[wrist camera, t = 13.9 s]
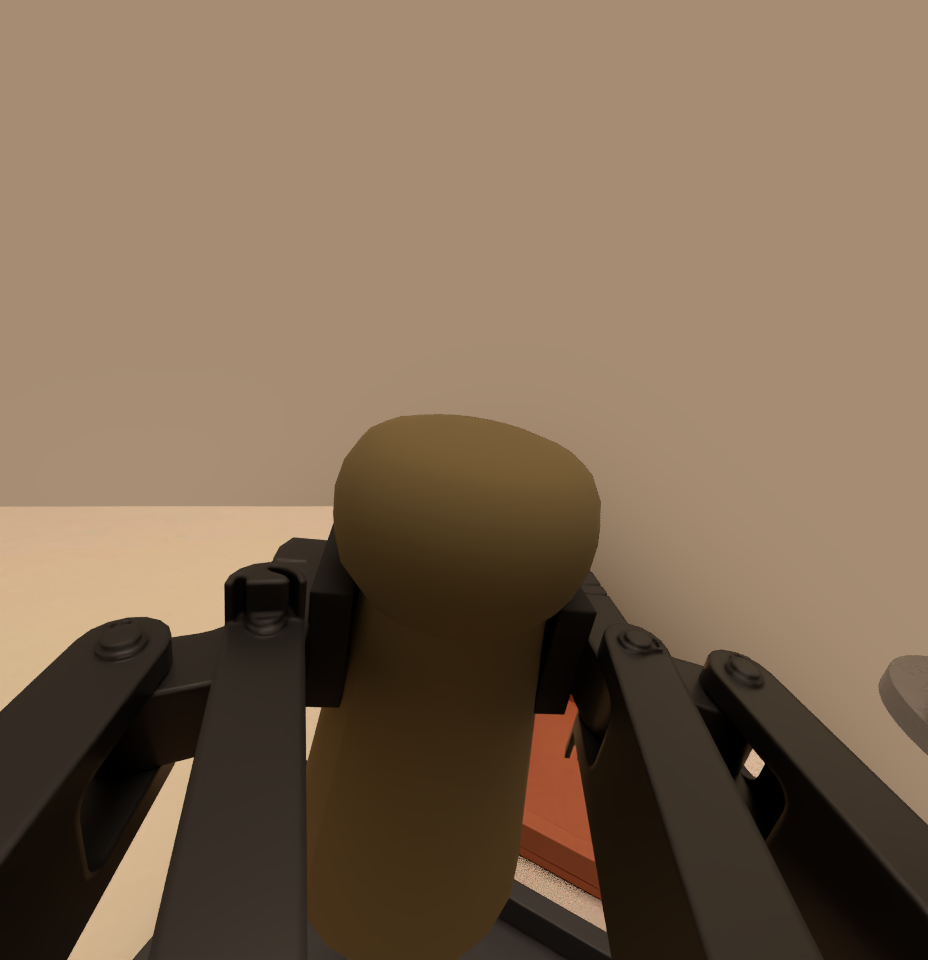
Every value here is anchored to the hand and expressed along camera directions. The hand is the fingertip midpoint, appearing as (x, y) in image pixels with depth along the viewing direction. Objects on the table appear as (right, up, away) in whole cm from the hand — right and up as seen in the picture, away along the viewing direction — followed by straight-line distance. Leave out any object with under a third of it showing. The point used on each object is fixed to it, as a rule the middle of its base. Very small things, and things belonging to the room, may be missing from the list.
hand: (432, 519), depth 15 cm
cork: (0, -8, -3) cm, 9 cm away
